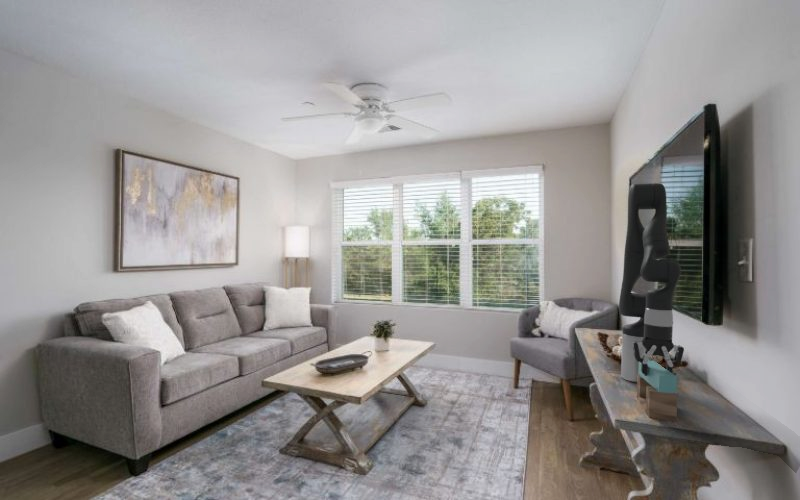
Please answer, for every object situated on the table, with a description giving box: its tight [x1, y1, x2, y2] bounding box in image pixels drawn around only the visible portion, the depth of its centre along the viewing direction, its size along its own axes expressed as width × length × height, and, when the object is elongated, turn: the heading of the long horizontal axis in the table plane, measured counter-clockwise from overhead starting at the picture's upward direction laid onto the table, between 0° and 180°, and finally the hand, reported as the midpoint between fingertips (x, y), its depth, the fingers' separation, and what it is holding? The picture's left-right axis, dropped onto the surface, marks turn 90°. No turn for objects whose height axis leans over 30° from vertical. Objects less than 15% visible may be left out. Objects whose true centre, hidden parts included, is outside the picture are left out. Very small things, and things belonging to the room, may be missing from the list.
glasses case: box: [638, 359, 678, 395], centre depth 124 cm, size 17×5×5 cm, turn 166°
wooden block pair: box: [636, 374, 678, 422], centre depth 124 cm, size 17×7×8 cm, turn 159°
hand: (656, 376), depth 124 cm, fingers open, 5 cm apart
